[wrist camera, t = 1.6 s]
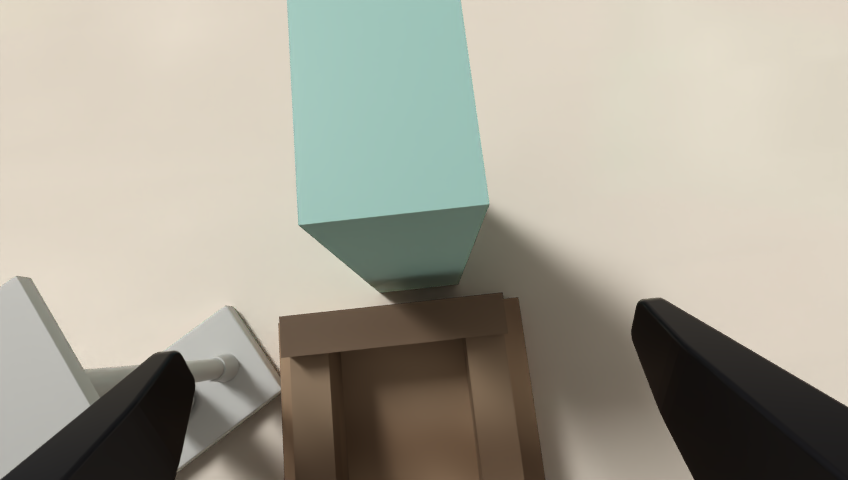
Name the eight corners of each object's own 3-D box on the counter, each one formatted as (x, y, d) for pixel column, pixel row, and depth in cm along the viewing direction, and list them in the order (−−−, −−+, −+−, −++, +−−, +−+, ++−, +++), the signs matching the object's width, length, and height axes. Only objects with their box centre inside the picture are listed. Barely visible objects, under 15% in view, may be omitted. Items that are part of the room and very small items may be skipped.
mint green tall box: (458, 284, 21) (489, 204, 8) (379, 292, 21) (298, 225, 8) (443, 161, 22) (451, -63, 10) (369, 170, 22) (284, -44, 10)
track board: (559, 611, 18) (597, 696, 14) (301, 638, 18) (258, 732, 14) (513, 299, 20) (533, 289, 16) (287, 324, 20) (247, 320, 16)
